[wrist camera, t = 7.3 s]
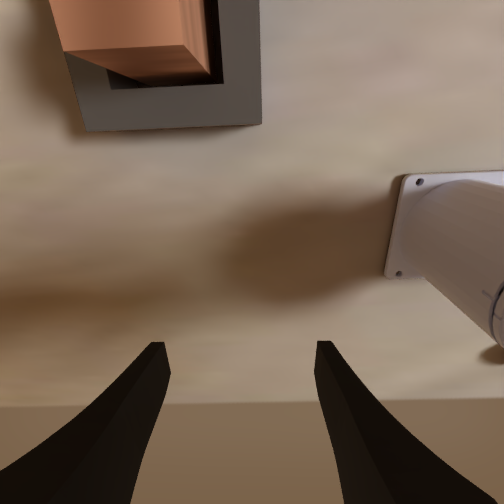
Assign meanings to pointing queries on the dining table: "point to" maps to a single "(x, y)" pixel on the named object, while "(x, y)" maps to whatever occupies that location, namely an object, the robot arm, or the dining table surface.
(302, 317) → the dining table surface
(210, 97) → the socket
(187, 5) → the peg
